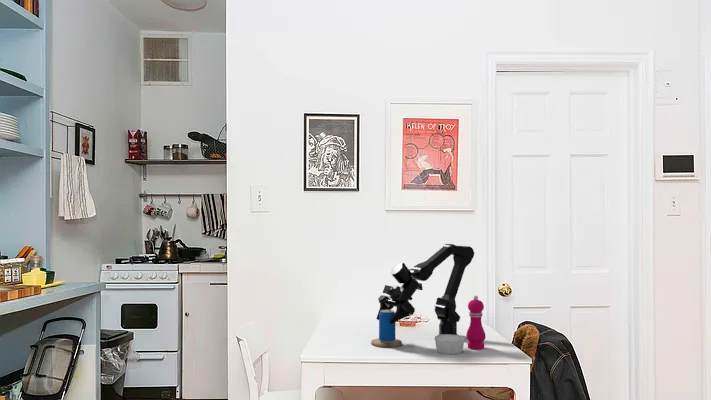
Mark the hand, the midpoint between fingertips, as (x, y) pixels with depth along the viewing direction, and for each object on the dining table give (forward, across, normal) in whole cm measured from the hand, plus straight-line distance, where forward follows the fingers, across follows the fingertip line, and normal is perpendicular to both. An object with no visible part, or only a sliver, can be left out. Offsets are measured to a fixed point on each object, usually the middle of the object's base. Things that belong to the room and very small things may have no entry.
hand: (383, 321), depth 222 cm
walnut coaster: (+5, 0, +7) cm, 9 cm away
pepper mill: (-13, +22, +26) cm, 37 cm away
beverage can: (+5, 0, +7) cm, 8 cm away
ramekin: (-4, +21, +18) cm, 28 cm away
